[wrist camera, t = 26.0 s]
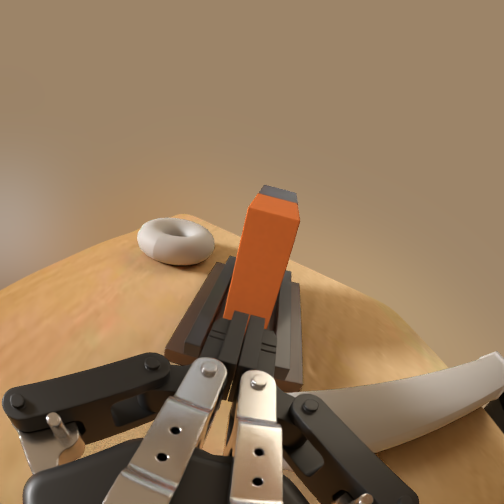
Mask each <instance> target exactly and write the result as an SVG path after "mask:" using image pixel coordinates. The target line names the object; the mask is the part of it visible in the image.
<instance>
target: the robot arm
mask: <svg viewBox="0 0 504 504" xmlns="http://www.w3.org/2000/svg"><path fill="white" fill-rule="evenodd" d="M248 317H249V314H247V313H243V312H239V311H235V310H234V313H233V316H232V319H231V320H229V319H225V318H219V319H218V320H217V321H215V322H214V324H213V326H212V328H211V331H210V333H209V336H208V338H207V340H206V343H205V345H204V347H203V350H202V352H201V355H200V357H199V358H198V359H196V360H195V361H194V362H193V363H192V364H190V365H185V366H179V365H170V362H169V361H168V359H167V358H165V357H164V356H163V355H160V354H158V353H151V352H149V353H144V354H140V355H137V356H134V357H131V358H127V359H124V360H121V361H117V362H114V363H110V364H107V365H103V366H100V367H96V368H93V369H89V370H85V371H82V372H78V373H74V374H70V375H66V376H62V377H58V378H54V379H50V380H46V381H42V382H37V383H33V384H28V385H24V386H19V387H14V388H11V389H9V390H8V391H7V392H6V393H5V394H4V396H3V399H2V406H3V409H4V411H5V413H6V414H7V416H8V417H9V419H10V420H11V423H12V425H13V426H14V428H15V429H16V430H17V432H18V434H19V437H20V441H21V444H22V447H23V450H24V453H25V455H26V458H27V461H28V464H29V466H30V469H31V471H32V474H33V475H32V476H31V477H30V478H29V479H28V481H27V482H26V484H25V486H24V489H23V504H309V502H308V501H307V500H306V499H305V497H304V496H303V495H302V493H301V492H300V491H299V490H298V488H297V487H296V486H295V485H294V483H293V482H292V481H291V480H290V479H288V478H287V477H286V476H285V475H283V459H284V460H285V461H286V462H287V464H288V465H289V466H290V467H291V469H292V470H293V471H294V472H295V474H296V475H297V476H298V477H299V479H300V480H301V481H302V482H303V483H304V485H305V486H306V487H307V488H308V489H309V490H310V492H311V493H312V494H313V495H314V496H315V497H316V498H317V500H318V501H319V502H320V503H321V504H419V499H418V496H417V494H416V493H415V492H414V491H413V490H412V489H411V488H410V487H409V486H407V485H406V484H405V483H404V482H403V481H402V480H401V479H400V478H399V477H398V476H397V475H396V474H395V473H394V472H393V471H392V470H391V469H389V468H388V467H387V466H386V465H385V464H384V463H383V462H382V461H381V460H380V459H379V458H378V457H377V456H376V455H375V454H374V453H373V452H372V451H371V450H370V449H369V448H368V447H367V446H366V445H365V444H364V443H363V442H362V441H361V440H360V439H359V438H358V437H357V436H356V435H355V434H354V433H353V432H352V431H351V430H350V429H349V428H348V426H347V425H346V424H345V423H344V422H343V421H342V420H341V419H340V418H339V417H338V416H337V415H336V414H335V413H334V412H333V411H332V410H331V409H330V408H329V407H328V405H327V404H326V403H325V402H324V401H323V400H322V399H321V398H319V397H318V396H316V395H313V394H300V395H298V396H297V397H294V396H291V395H289V394H287V393H285V392H284V391H282V390H281V389H280V388H279V387H278V386H277V385H276V382H275V380H274V371H275V360H276V349H277V348H276V347H277V337H276V335H275V333H274V331H271V330H267V329H264V325H265V318H262V317H258V316H254V315H250V318H249V322H248ZM247 322H248V325H247ZM246 326H247V329H246ZM245 330H246V332H245ZM244 334H245V336H244ZM243 338H244V339H243ZM242 342H243V343H242ZM241 346H242V347H241ZM236 365H237V366H236ZM235 369H236V370H235ZM234 372H235V374H234ZM233 376H234V378H233ZM232 379H233V382H232ZM231 383H232V386H231ZM230 386H231V390H230V394H229V398H228V401H230V402H232V407H231V410H230V413H229V417H228V423H227V431H226V438H225V445H224V451H223V456H218V455H212V454H210V453H208V452H206V451H204V450H202V448H203V445H204V443H205V440H206V438H207V435H208V433H209V430H210V428H211V425H212V423H213V420H214V418H215V415H216V412H217V411H218V409H219V407H220V404H221V400H226V399H227V396H228V393H229V389H230ZM153 420H154V422H153V423H152V425H151V427H150V429H149V430H148V432H147V434H146V435H145V437H144V438H137V439H132V440H128V441H125V442H123V443H120V444H118V445H115V446H113V447H110V448H108V449H105V450H103V451H100V452H97V453H95V454H92V455H89V456H86V457H84V458H81V459H78V458H80V457H81V456H82V455H83V453H84V451H85V445H87V444H90V443H93V442H96V441H99V440H102V439H105V438H108V437H111V436H114V435H116V434H119V433H122V432H125V431H127V430H130V429H133V428H135V427H138V426H140V425H143V424H145V423H148V422H150V421H153ZM76 459H78V460H76ZM74 460H75V461H74Z"/></svg>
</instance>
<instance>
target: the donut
mask: <svg viewBox="0 0 504 504" xmlns="http://www.w3.org/2000/svg"><path fill="white" fill-rule="evenodd" d="M137 240H138V244H139V247H140V249H141V250H142V251H143V252H144V253H145V254H146V255H147V256H149V257H150V258H152V259H154V260H156V261H160V262H163V263H166V264H173V265H192V264H197V263H200V262H202V261H204V260H206V259H207V258H208V257H209V256H210V255H211V253H212V252H213V250H214V238H213V236H212V234H211V233H210V232H209V231H208V229H206V228H204V227H203V226H201V225H199V224H197V223H195V222H192V221H188V220H184V219H178V218H159V219H154V220H150V221H149V222H147V223H145V224H144V225H142V227H141V229H140V230H139V232H138V235H137Z"/></svg>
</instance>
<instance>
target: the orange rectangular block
mask: <svg viewBox="0 0 504 504" xmlns="http://www.w3.org/2000/svg"><path fill="white" fill-rule="evenodd" d="M299 224H300V217H299V211H298V205H297V203H293V202H290V201H286V200H282V199H279V198H275V197H271V196H267V195H263V194H259V193H258V194H257V195H256V197H255V198H254V200H253V201H252V203H251V204H250V206H249V207H248V210H247V214H246V219H245V223H244V228H243V231H242V236H241V240H240V244H239V249H238V253H237V257H236V262H235V266H234V271H233V275H232V280H231V284H230V288H229V293H228V297H227V302H226V306H225V311H224V315H223V318H225V319H229V320H231V319H232V316H233V313H234V310H235V311H239V312H243V313H247V314H249V317H248V322H249V318H250V315H254V316H258V317H262V318H265V325H264V329H267V327H268V324H269V321H270V318H271V315H272V311H273V308H274V305H275V302H276V299H277V296H278V293H279V290H280V286H281V283H282V280H283V277H284V274H285V270H286V267H287V264H288V261H289V257H290V254H291V251H292V247H293V244H294V241H295V237H296V234H297V230H298V227H299ZM248 322H247V325H248ZM246 329H247V326H246ZM245 332H246V330H245ZM244 335H245V334H244Z"/></svg>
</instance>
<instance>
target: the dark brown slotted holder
mask: <svg viewBox="0 0 504 504" xmlns="http://www.w3.org/2000/svg"><path fill="white" fill-rule="evenodd" d="M259 194H263V195H267V196H271V197H275V198H279V199H282V200H286V201H290V202H293V203H297V205H298V202H297V196H296V193H294V192H290V191H286V190H283V189H279V188H275V187H271V186H267V185H264V186H263V188H262V189H261V191H260V192H259ZM235 262H236V257H233V256H229V258H228V260H227V262H226V264H223V263H219V262H216V264H215V265H214V267H213V269H212V270H211V272H210V274H209V275H208V277H207V279H206V280H205V282H204V283H203V285H202V287H201V288H200V290H199V292H198V293H197V295H196V297H195V298H194V300H193V302H192V303H191V305H190V307H189V308H188V310H187V312H186V313H185V315H184V317H183V318H182V320H181V322H180V323H179V325H178V327H177V328H176V330H175V332H174V333H173V335H172V337H171V339H170V340H169V342H168V344H167V345H166V347H165V355H164V357H165V358H167V359H168V361H171V362H174V363H177V364H180V365H183V366H185V365H190V364H192V363H193V362H194V361H195V360H196V359H198V358H199V357H200V355H201V352H202V350H203V347H204V345H205V343H206V340H207V338H208V336H209V333H210V331H211V328H212V326H213V324H214V322H215V321H217V320H218V319H219V318H223V315H224V311H225V306H226V302H227V297H228V293H229V288H230V284H231V280H232V275H233V271H234V266H235ZM267 330H271V331H274V333H275V335H276V337H277V347H276V348H277V349H276V360H275V371H274V380H275V382H276V385H277V386H278V387H279V388H280V389H281V390H282V391H284V392H288V393H293V392H299V391H300V389H301V387H302V385H303V361H302V329H301V306H300V287H299V283H295V282H291V272H290V271H286V270H285V274H284V277H283V280H282V283H281V286H280V290H279V293H278V296H277V299H276V302H275V305H274V308H273V311H272V315H271V318H270V321H269V324H268V327H267ZM244 336H245V335H244ZM243 339H244V338H243ZM242 343H243V342H242ZM241 347H242V346H241ZM236 366H237V365H236ZM235 370H236V369H235ZM234 374H235V372H234ZM233 378H234V376H233ZM232 380H233V379H232Z"/></svg>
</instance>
